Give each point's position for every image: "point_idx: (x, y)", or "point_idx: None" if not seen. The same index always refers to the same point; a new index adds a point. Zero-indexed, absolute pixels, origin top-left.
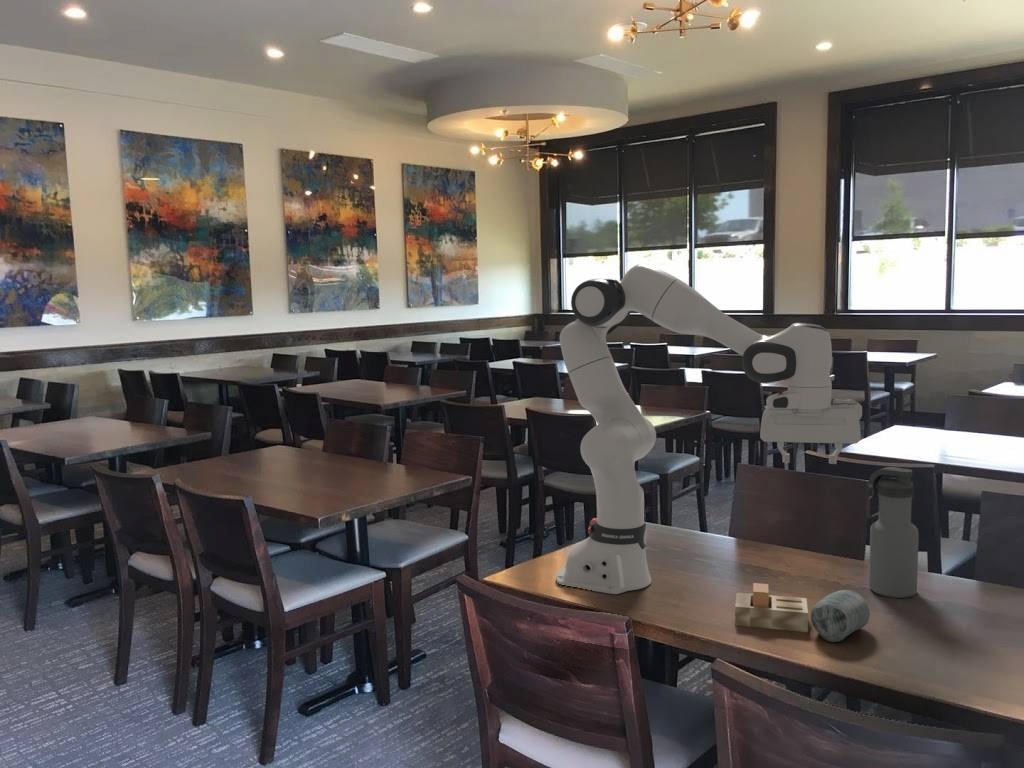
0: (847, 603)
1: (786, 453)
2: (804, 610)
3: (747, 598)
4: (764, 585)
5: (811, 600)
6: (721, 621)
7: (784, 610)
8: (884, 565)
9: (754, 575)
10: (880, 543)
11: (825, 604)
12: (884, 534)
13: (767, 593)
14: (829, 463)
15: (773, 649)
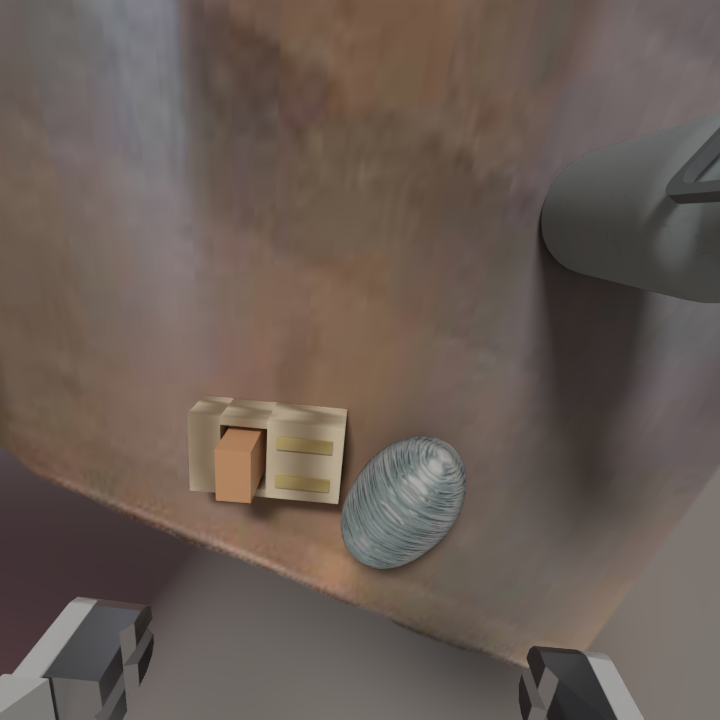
0: (412, 555)
1: (64, 690)
2: (332, 493)
3: (213, 445)
4: (241, 461)
5: (373, 311)
6: (178, 452)
7: (291, 497)
8: (599, 273)
9: (239, 132)
10: (629, 271)
11: (365, 563)
12: (664, 284)
13: (248, 501)
14: (521, 691)
15: (274, 548)
